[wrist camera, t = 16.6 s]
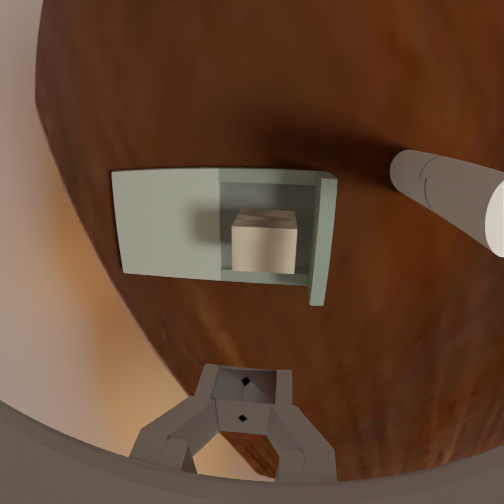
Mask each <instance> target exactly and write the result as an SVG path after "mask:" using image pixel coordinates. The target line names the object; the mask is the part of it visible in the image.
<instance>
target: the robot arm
mask: <svg viewBox="0 0 504 504" xmlns="http://www.w3.org/2000/svg"><path fill="white" fill-rule="evenodd" d="M219 430H220V431H230V432H242V433H251V434H262V435H267V437H268V438H269V440H270V442H271V443H272V445H273V447H274V448H275V450H276V452H277V453H278V455H279V457H280V459H279V464H278V469H277V474H276V478H275V482H263V481H250V480H239V479H230V478H222V477H215V476H208V475H202V474H197V471H196V468H195V464H194V461H193V458H192V457H193V456H194V455H195V454H196V453H197V452H198V451H199V450H200V449H201V448H202V447H203V446H204V445H206V444H207V443H208V441H210V440H211V439H212V438H213V437H214V436H215V435H216V434H217V433H218V432H219ZM0 504H504V444H503V445H501V446H498V447H496V448H493V449H491V450H488V451H485V452H482V453H479V454H477V455H474V456H471V457H467V458H464V459H461V460H458V461H454V462H451V463H447V464H443V465H440V466H436V467H432V468H427V469H423V470H418V471H414V472H409V473H403V474H398V475H392V476H385V477H378V478H371V479H362V480H352V481H339V482H337V478H336V464H335V452H334V449H333V448H332V446H331V445H330V444H329V443H328V442H327V441H326V440H325V439H324V437H323V436H322V435H321V434H320V433H319V432H318V431H317V429H316V428H315V427H314V426H313V425H312V424H311V422H310V421H309V420H308V419H307V418H306V417H305V415H304V414H303V413H302V412H301V411H300V409H299V408H298V407H297V406H295V405H292V371H291V370H277V371H276V370H270V369H253V368H240V367H231V366H223V365H213V364H206V365H205V366H204V368H203V371H202V374H201V377H200V380H199V383H198V386H197V389H196V392H195V396H189V397H188V398H187V399H185V400H184V401H182V402H181V403H179V404H178V405H177V406H175V407H174V408H172V409H171V410H169V411H168V412H166V413H165V414H163V415H162V416H160V417H159V418H157V419H156V420H154V421H153V422H151V423H150V424H148V425H146V426H145V427H143V428H142V429H141V430H140V433H139V435H138V437H137V439H136V442H135V444H134V446H133V449H132V451H131V453H130V455H129V457H126V456H122V455H119V454H116V453H113V452H110V451H107V450H104V449H101V448H99V447H96V446H93V445H91V444H88V443H85V442H83V441H81V440H78V439H76V438H73V437H71V436H68V435H66V434H64V433H61V432H59V431H57V430H55V429H53V428H51V427H49V426H46V425H45V424H42V423H40V422H38V421H36V420H35V419H33V418H31V417H29V416H27V415H25V414H23V413H21V412H20V411H18V410H16V409H14V408H13V407H11V406H9V405H7V404H6V403H4V402H2V401H1V400H0Z"/></svg>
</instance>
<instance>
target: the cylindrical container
mask: <svg viewBox="0 0 504 504" xmlns="http://www.w3.org/2000/svg"><path fill="white" fill-rule="evenodd" d="M390 178H391V181H392V183H393V185H394V186H395V188H396V189H397V190H398V191H400V192H401V193H403V194H405V195H406V196H408V197H410V198H412V199H413V200H415V201H417V202H418V203H420V204H422V205H423V206H425V207H427V208H428V209H430V210H431V211H433V212H435V213H436V214H438V215H439V216H441V217H443V218H444V219H446V220H447V221H449V222H450V223H452V224H453V225H455V226H456V227H458V228H459V229H461V230H462V231H464V232H465V233H467V234H468V235H470V236H471V237H472V238H474V239H475V240H477V241H478V242H480V243H481V244H482V245H484V246H485V247H486V248H488V249H489V250H491V251H492V252H493V253H495V254H496V255H498V256H500V257H504V172H501V171H498V170H495V169H491V168H488V167H484V166H480V165H477V164H473V163H469V162H465V161H461V160H457V159H453V158H448V157H444V156H439V155H435V154H430V153H425V152H420V151H415V150H404V151H402V152H400V153H398V154H397V155H396V156H395V158H394V159H393V161H392V163H391V166H390Z"/></svg>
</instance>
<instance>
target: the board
mask: <svg viewBox="0 0 504 504" xmlns="http://www.w3.org/2000/svg"><path fill="white" fill-rule="evenodd" d="M112 185H113V197H114V207H115V216H116V225H117V232H118V240H119V247H120V254H121V260H122V266H123V272H124V273H131V274H143V275H154V276H166V277H179V278H192V279H206V280H220V281H235V282H251V283H269V284H288V285H307V288H308V296H309V304H310V305H315V306H323V304H324V298H325V291H326V284H327V276H328V269H329V261H330V253H331V244H332V235H333V226H334V215H335V204H336V193H337V178H335V177H334V176H333V175H332V174H331V173H329V172H324V171H310V170H293V169H271V168H228V167H200V168H159V169H137V170H120V171H114V172H112ZM241 209H267V210H288V211H295V216H296V223H297V242H296V256H295V269H294V274H284V273H266V272H248V271H232V225H233V223H234V221H235V219H236V217H237V216H238V214H239V212H240V210H241Z"/></svg>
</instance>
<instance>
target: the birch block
mask: <svg viewBox="0 0 504 504" xmlns="http://www.w3.org/2000/svg"><path fill="white" fill-rule="evenodd" d="M296 242H297V223H296V216H295V211H288V210H267V209H241V210H240V212H239V214H238V216H237V217H236V219H235V221H234V223H233V225H232V271H248V272H266V273H284V274H294V269H295V256H296Z"/></svg>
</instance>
